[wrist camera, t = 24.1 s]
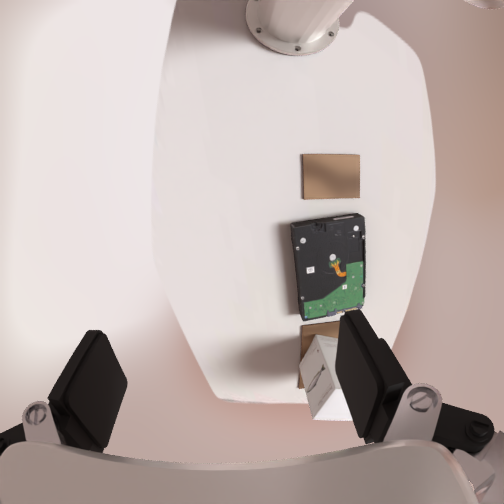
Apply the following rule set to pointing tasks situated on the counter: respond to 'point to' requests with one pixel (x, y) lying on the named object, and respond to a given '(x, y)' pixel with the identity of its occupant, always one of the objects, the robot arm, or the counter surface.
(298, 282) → the disk drive
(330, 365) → the supplement box
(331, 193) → the flat brown wooden pieces
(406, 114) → the counter surface
